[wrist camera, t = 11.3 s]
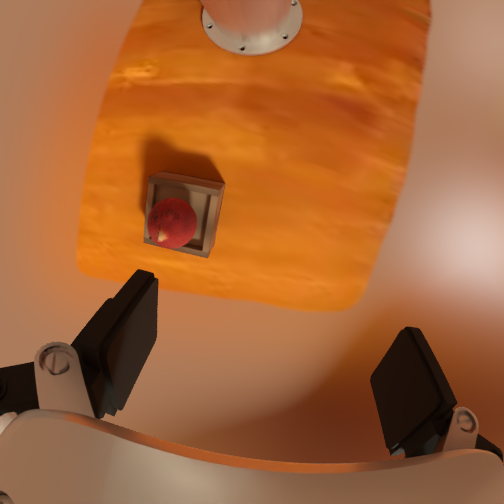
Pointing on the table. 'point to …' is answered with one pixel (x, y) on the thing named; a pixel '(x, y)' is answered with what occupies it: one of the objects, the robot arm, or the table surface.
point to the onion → (172, 223)
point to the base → (198, 197)
